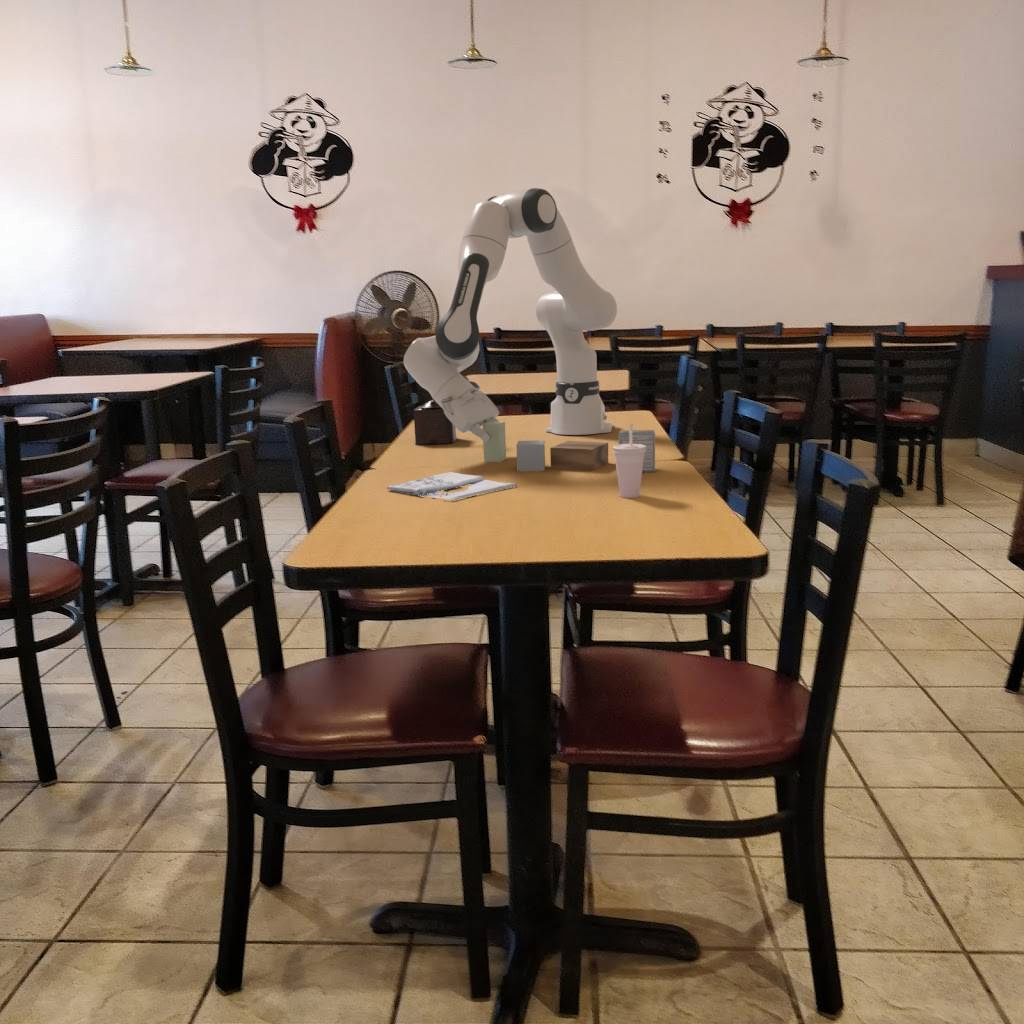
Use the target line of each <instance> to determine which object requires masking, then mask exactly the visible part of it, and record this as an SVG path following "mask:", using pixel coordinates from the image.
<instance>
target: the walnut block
mask: <svg viewBox="0 0 1024 1024" xmlns="http://www.w3.org/2000/svg"><path fill="white" fill-rule="evenodd" d="M549 450H550V451H549V452H550V455H549V456H550V469H554V470H570V471H571V470H574V471H590V472H591V471H594V470H596V469H599V468H601V467H603V466H605V465H607V464H609V442H603V441H602V442H600V441H577V440H575V441H574V440H567V441H564V442H561V443H559V444H556V445H554V446H550V449H549Z"/></svg>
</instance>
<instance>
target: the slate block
mask: <svg viewBox="0 0 1024 1024" xmlns="http://www.w3.org/2000/svg"><path fill="white" fill-rule="evenodd" d="M545 444H546V443H545V439H542V440H541V439H539V440H517V443H516V468H517V469H516V470H517V472H539V471H540V472H543V471H544V472H545V469H546V455H545V454H546V452H545V451H546V450H545V449H546V447H545V446H546V445H545Z"/></svg>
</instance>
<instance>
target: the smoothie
mask: <svg viewBox="0 0 1024 1024" xmlns="http://www.w3.org/2000/svg"><path fill="white" fill-rule="evenodd" d="M628 425H629V436H630V444H619V443H618V444H615V445H613V446H612V452H613V453H614V460H615V467H616V468H615V470H616V475H617V482H618V483H617V484H618V490H619V491H618V492H619V497H621V498H623V499H625V498H626V499H632V498H633V499H634V498H638V497H640V493H641V485H642V476H643V472H642V469H643V461H644V453H645V452H646V446H645V445H642V444H632V430H633V423H629V424H628Z"/></svg>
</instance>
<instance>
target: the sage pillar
mask: <svg viewBox="0 0 1024 1024" xmlns="http://www.w3.org/2000/svg"><path fill="white" fill-rule="evenodd" d="M482 429H483V430H484V431H485V432H488V433H489V434H490V435H491V439H490V440H489V441H488V442H484V441H483V440H482V442H483V445H482V447H483V462H484V463H485V462H487V463H501V462H503V461H505V460H506V459H507V444H506V443H507V442H506V439H507V438H506V421H499V422H495V421H489V422H486V423H484V424H483V426H482ZM504 459H505V460H504Z"/></svg>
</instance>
